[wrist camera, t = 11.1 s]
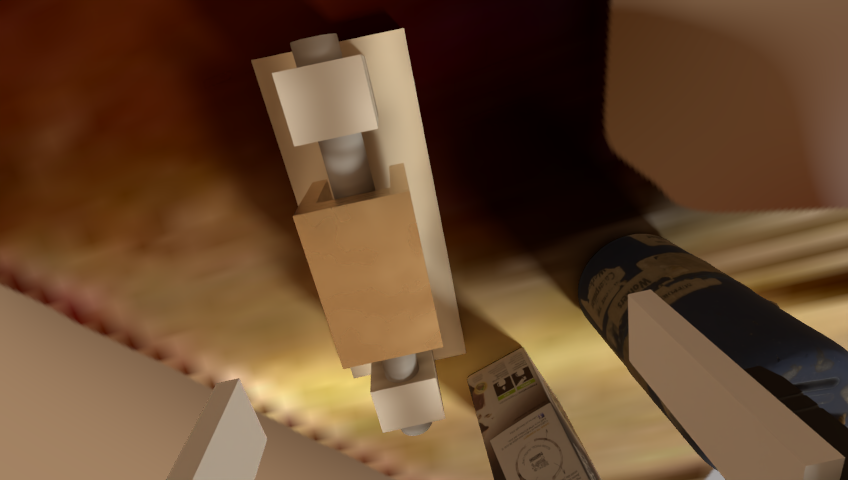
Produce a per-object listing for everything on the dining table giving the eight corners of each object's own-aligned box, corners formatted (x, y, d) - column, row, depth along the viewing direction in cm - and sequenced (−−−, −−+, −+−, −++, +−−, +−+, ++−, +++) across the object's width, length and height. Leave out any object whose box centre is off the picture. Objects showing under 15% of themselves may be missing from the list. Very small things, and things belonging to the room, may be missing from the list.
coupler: (403, 162, 29) (409, 191, 23) (431, 291, 33) (443, 347, 27) (312, 182, 29) (292, 216, 23) (351, 309, 33) (343, 369, 27)
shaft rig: (402, 29, 30) (412, 15, 21) (463, 343, 40) (487, 422, 31) (257, 60, 29) (205, 58, 21) (354, 367, 39) (347, 454, 31)
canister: (590, 220, 36) (769, 353, 20) (692, 234, 38) (940, 369, 21) (558, 320, 40) (689, 505, 23) (653, 329, 41) (841, 510, 24)
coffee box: (463, 378, 41) (511, 557, 26) (523, 344, 40) (608, 509, 25) (507, 437, 44) (572, 626, 29) (564, 407, 44) (660, 585, 29)
